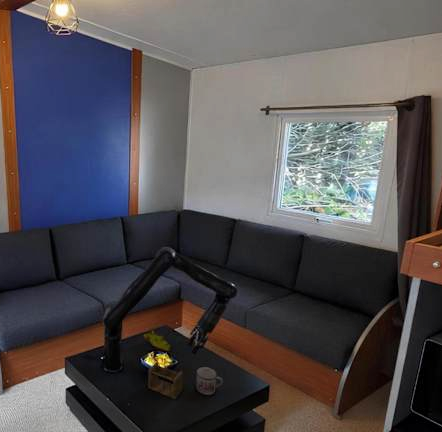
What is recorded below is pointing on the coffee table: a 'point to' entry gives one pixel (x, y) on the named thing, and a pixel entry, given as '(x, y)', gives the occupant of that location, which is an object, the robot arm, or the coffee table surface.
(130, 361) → the coffee table surface
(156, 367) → the wooden caddy
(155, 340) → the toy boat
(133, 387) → the coffee table surface
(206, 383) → the teacup with lid
